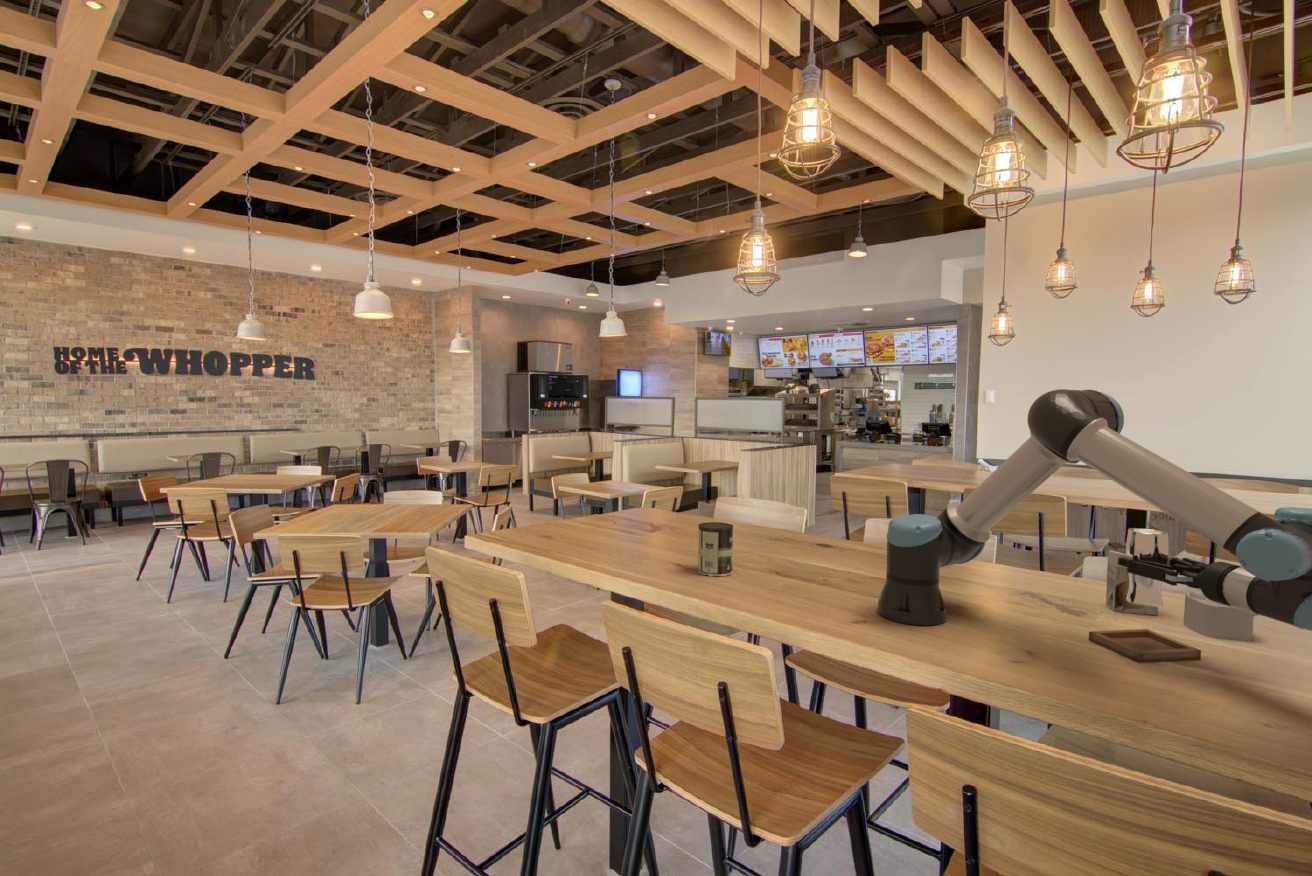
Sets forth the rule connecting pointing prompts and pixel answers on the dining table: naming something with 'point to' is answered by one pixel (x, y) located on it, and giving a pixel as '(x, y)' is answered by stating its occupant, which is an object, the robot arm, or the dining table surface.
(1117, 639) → the tray
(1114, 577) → the coffee box
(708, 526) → the coffee can
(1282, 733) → the dining table surface
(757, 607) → the dining table surface
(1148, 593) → the beer glass
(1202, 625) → the lumpy-topped squat cylinder
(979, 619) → the dining table surface
